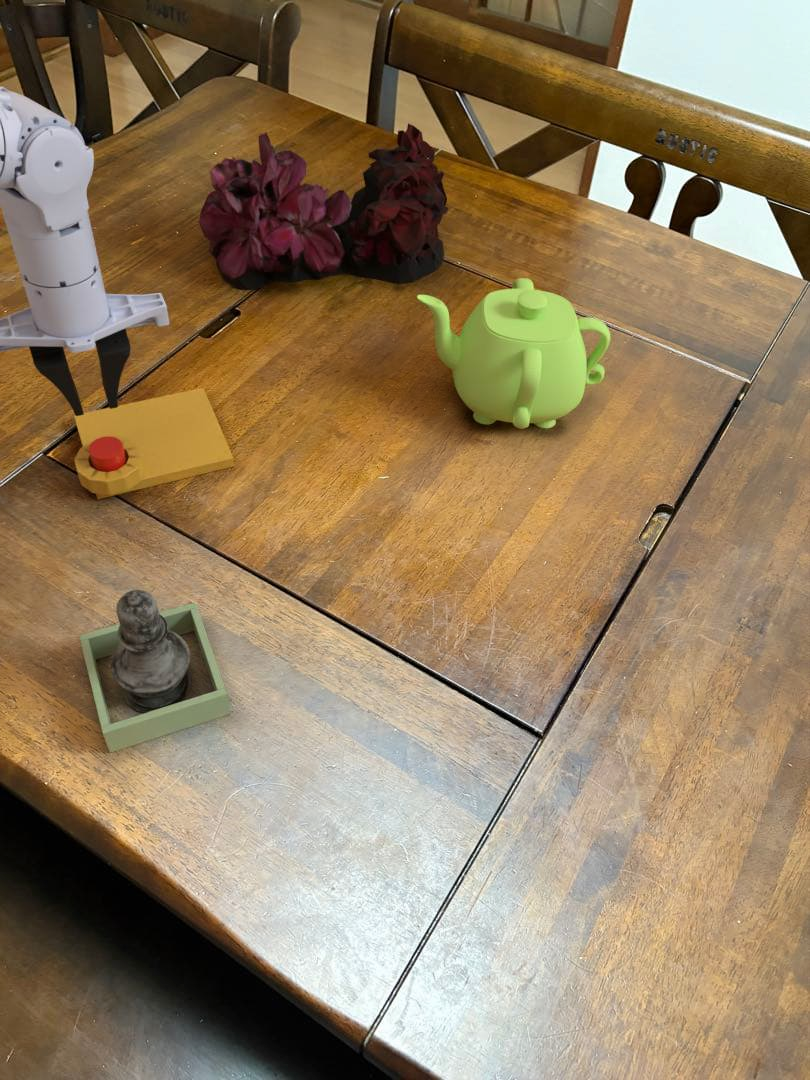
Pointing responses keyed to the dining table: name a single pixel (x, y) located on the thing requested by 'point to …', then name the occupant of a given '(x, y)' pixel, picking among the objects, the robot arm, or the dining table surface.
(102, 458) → the stop button
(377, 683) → the dining table surface
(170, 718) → the green square tray
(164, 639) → the chess piece
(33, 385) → the dining table surface
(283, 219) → the flower arrangement
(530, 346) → the teapot
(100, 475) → the control block
